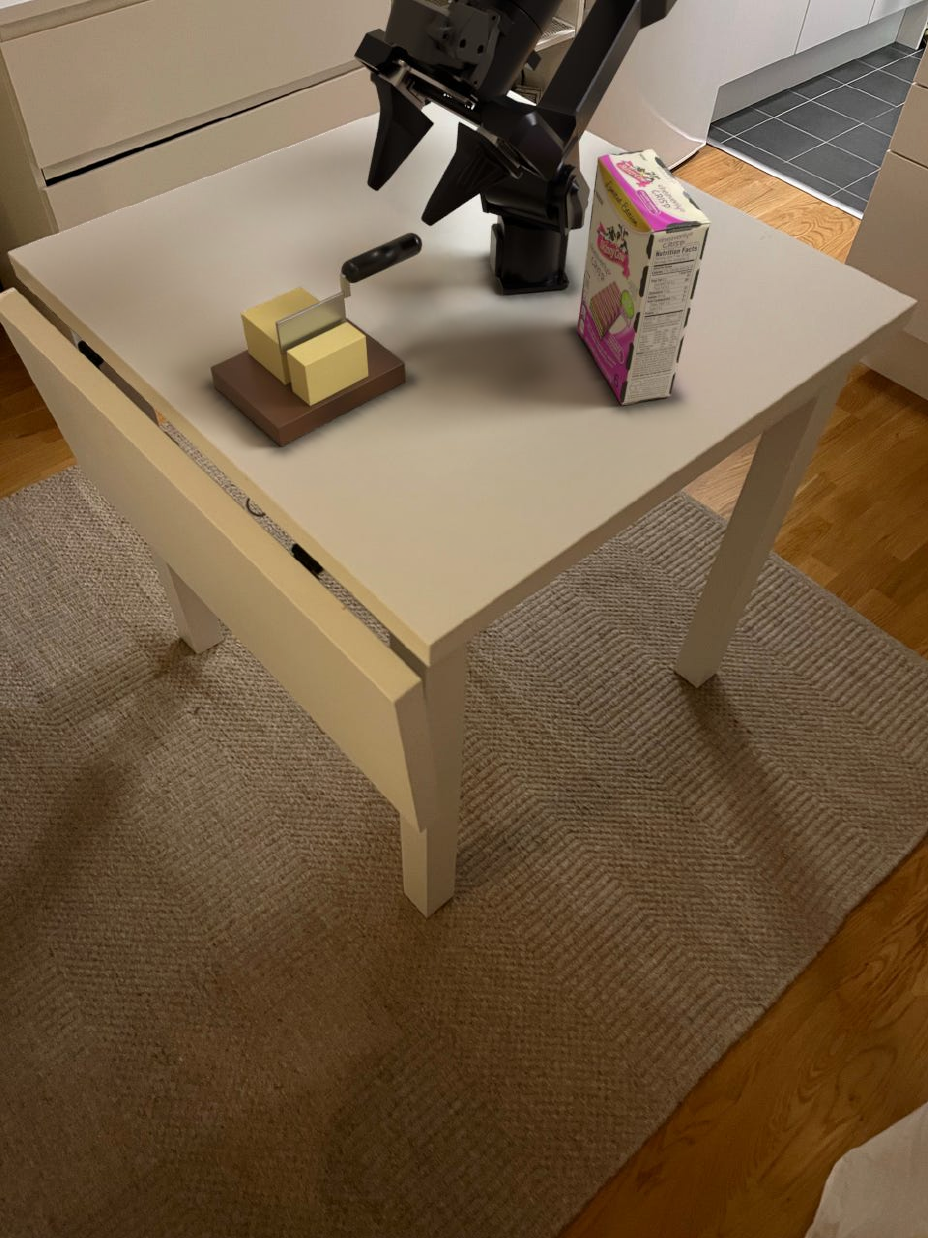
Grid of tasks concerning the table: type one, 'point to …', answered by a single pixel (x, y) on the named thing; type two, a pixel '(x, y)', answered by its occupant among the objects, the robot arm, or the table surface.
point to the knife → (343, 292)
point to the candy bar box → (639, 273)
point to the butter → (305, 349)
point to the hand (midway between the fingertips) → (398, 205)
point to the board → (284, 408)
